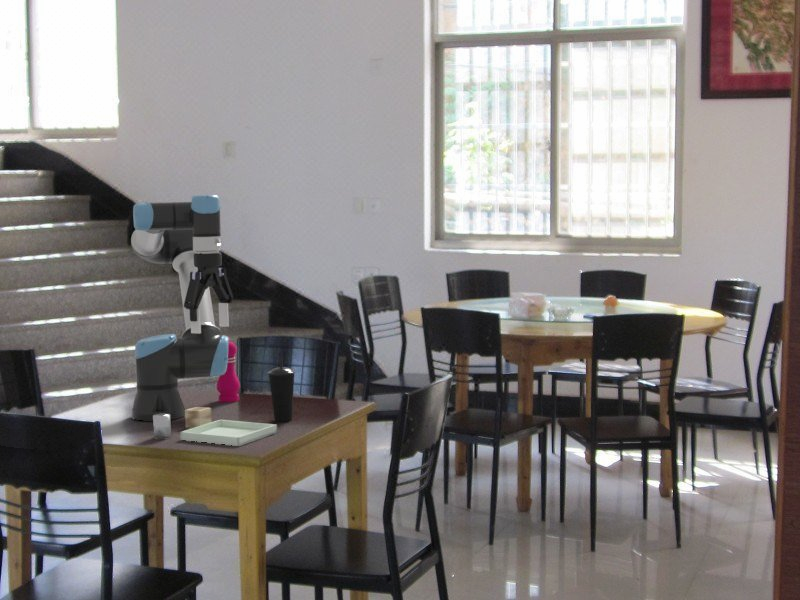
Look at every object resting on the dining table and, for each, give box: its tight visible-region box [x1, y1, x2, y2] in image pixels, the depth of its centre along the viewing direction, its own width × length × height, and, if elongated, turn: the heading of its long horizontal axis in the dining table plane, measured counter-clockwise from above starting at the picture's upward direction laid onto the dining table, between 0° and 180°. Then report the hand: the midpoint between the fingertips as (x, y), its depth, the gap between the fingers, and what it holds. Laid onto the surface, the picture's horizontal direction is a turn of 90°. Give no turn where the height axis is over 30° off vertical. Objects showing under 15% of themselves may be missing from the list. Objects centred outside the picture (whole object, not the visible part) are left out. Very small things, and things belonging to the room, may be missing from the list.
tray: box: [179, 419, 278, 447], centre depth 284 cm, size 19×17×2 cm
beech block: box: [184, 406, 213, 429], centre depth 298 cm, size 5×5×5 cm
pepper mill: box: [216, 336, 241, 403], centre depth 336 cm, size 7×7×20 cm
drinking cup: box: [267, 348, 296, 423], centre depth 304 cm, size 8×8×20 cm
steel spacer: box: [152, 413, 172, 440], centre depth 285 cm, size 4×4×6 cm
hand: (210, 329), depth 297 cm, fingers open, 13 cm apart
